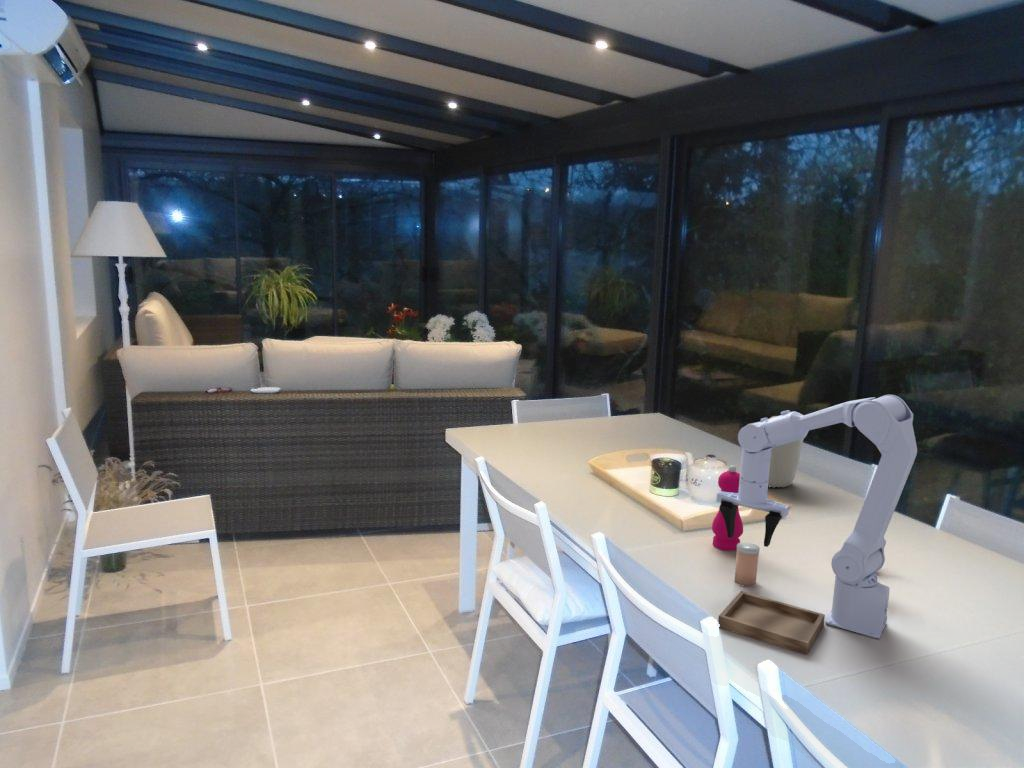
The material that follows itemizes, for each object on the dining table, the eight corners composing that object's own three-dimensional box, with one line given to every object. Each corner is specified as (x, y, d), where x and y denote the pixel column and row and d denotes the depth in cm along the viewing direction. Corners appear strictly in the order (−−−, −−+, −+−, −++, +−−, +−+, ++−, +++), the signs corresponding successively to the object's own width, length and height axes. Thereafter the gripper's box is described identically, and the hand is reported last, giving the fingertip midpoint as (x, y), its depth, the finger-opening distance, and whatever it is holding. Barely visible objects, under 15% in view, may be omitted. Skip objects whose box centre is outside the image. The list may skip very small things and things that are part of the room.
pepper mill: (747, 545, 177) (754, 465, 173) (733, 554, 172) (739, 471, 168) (719, 537, 182) (725, 459, 178) (705, 545, 177) (711, 465, 173)
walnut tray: (823, 625, 140) (824, 614, 139) (806, 654, 129) (807, 643, 129) (740, 601, 149) (740, 590, 148) (717, 626, 138) (718, 616, 138)
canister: (730, 484, 224) (736, 416, 220) (749, 470, 239) (754, 407, 235) (792, 496, 214) (799, 426, 210) (807, 481, 229) (814, 415, 225)
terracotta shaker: (759, 581, 158) (762, 545, 157) (752, 588, 154) (755, 552, 153) (737, 575, 161) (740, 540, 159) (730, 582, 157) (733, 547, 155)
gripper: (795, 481, 153) (788, 543, 155) (726, 468, 161) (721, 527, 163) (785, 489, 147) (779, 553, 149) (715, 475, 155) (710, 536, 157)
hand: (748, 540), depth 156 cm, fingers open, 7 cm apart
